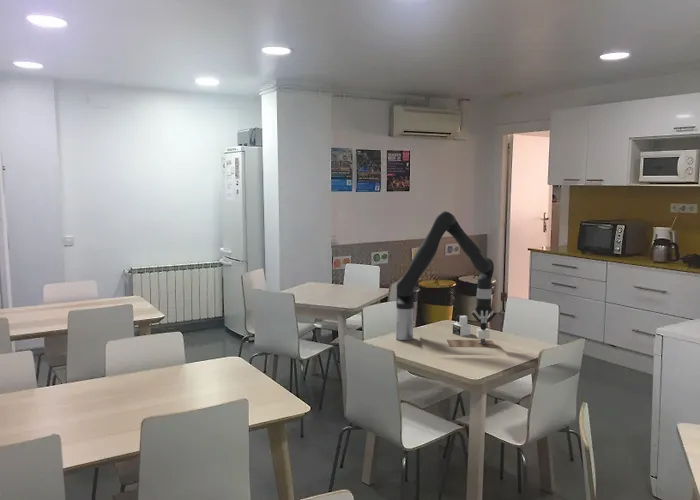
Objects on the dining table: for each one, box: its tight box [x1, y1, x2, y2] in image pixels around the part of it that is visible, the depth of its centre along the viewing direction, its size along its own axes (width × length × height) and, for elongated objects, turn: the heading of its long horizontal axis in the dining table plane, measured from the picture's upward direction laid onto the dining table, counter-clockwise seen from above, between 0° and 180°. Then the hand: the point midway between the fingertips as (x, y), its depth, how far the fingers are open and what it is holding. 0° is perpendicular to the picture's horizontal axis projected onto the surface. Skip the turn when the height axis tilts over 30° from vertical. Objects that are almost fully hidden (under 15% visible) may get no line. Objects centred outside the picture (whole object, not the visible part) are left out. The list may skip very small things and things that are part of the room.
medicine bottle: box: [452, 314, 472, 337], centre depth 311 cm, size 7×7×12 cm
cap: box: [475, 327, 490, 340], centre depth 290 cm, size 6×6×4 cm
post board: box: [446, 339, 498, 349], centre depth 291 cm, size 24×14×8 cm, turn 87°
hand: (483, 329), depth 290 cm, fingers closed
